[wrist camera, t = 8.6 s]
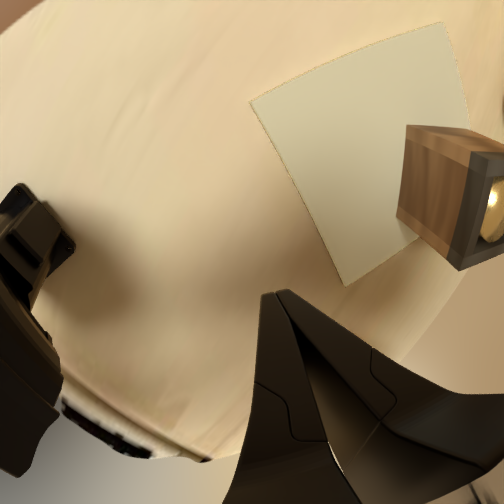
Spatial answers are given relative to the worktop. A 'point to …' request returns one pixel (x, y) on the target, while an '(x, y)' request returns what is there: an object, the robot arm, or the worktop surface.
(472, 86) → the worktop surface
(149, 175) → the worktop surface
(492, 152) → the wooden box
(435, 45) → the mat
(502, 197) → the peg
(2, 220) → the robot arm
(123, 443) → the worktop surface
